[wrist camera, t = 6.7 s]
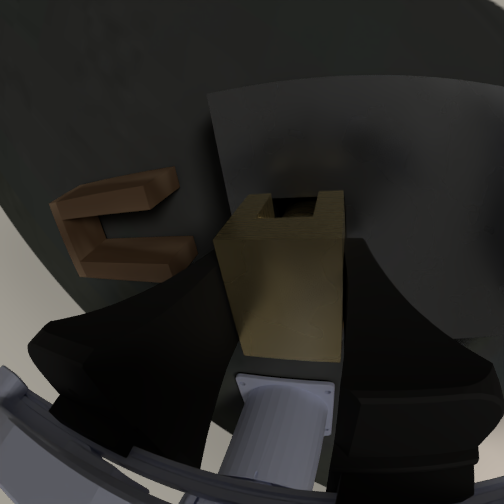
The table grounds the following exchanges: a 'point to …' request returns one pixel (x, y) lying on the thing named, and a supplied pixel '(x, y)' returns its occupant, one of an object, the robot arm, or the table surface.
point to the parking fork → (121, 249)
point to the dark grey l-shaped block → (386, 177)
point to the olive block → (286, 276)
